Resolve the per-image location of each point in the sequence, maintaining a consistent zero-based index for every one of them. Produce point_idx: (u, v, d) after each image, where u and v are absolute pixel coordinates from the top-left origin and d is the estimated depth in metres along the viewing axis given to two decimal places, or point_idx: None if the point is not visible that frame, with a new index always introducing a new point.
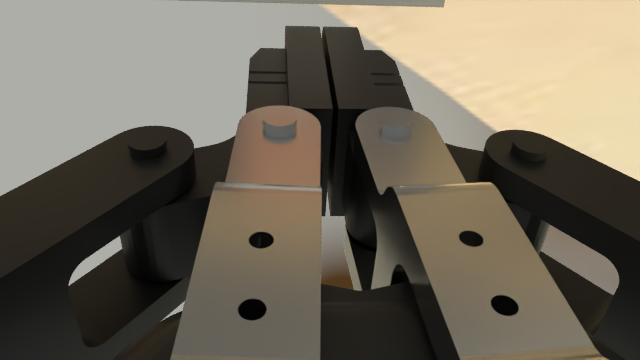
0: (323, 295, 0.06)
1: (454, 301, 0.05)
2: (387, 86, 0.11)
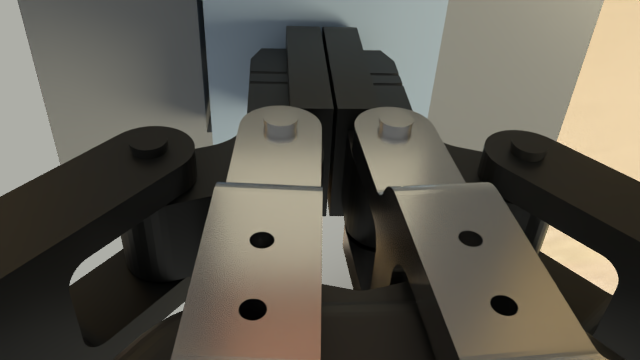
0: (323, 294, 0.06)
1: (454, 301, 0.05)
2: (386, 86, 0.11)
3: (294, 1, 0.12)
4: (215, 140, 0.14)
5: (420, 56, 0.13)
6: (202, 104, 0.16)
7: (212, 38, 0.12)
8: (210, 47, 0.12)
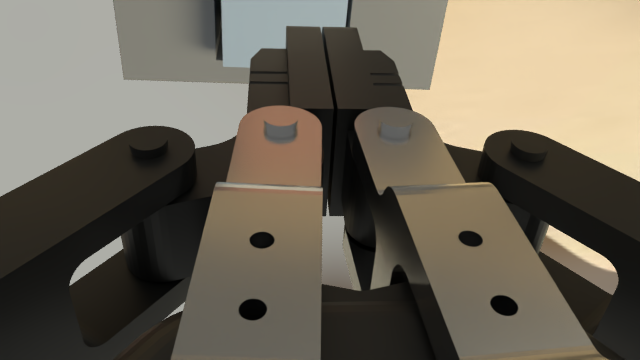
0: (322, 294, 0.06)
1: (454, 301, 0.05)
2: (386, 86, 0.11)
3: None
4: (224, 51, 0.25)
5: (337, 4, 0.24)
6: (213, 42, 0.26)
7: None
8: None
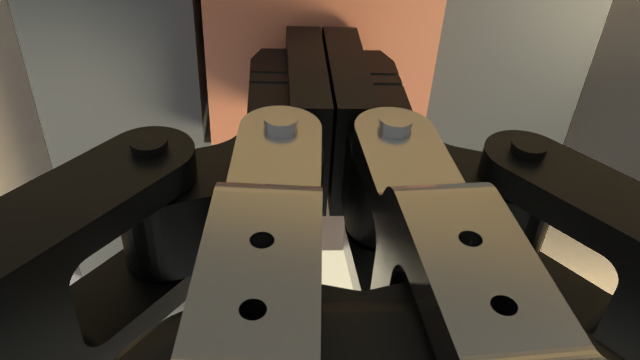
0: (323, 294, 0.06)
1: (454, 301, 0.05)
2: (386, 86, 0.11)
3: None
4: None
5: None
6: None
7: None
8: None
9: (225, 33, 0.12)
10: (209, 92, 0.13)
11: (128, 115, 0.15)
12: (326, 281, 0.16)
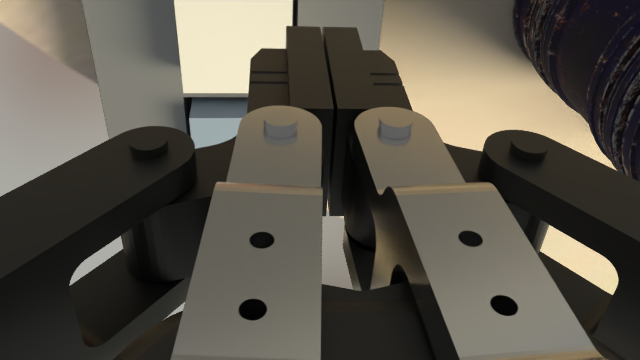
0: (323, 294, 0.06)
1: (454, 301, 0.05)
2: (386, 86, 0.11)
3: (227, 134, 0.30)
4: None
5: None
6: None
7: None
8: None
9: None
10: None
11: None
12: (242, 12, 0.26)
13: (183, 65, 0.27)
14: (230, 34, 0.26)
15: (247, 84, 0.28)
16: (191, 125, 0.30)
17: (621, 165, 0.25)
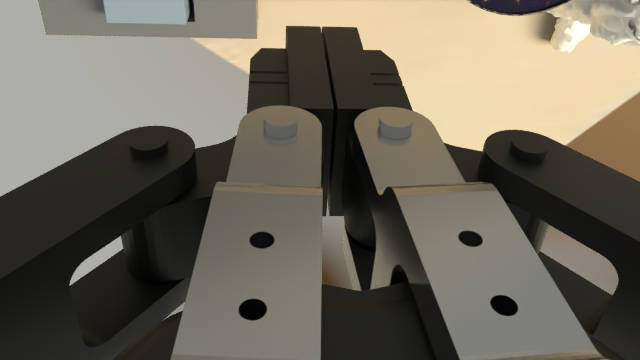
0: (323, 295, 0.06)
1: (454, 301, 0.05)
2: (386, 86, 0.11)
3: None
4: (106, 12, 0.38)
5: None
6: (103, 7, 0.39)
7: None
8: None
9: None
10: None
11: None
12: None
13: None
14: None
15: None
16: None
17: None
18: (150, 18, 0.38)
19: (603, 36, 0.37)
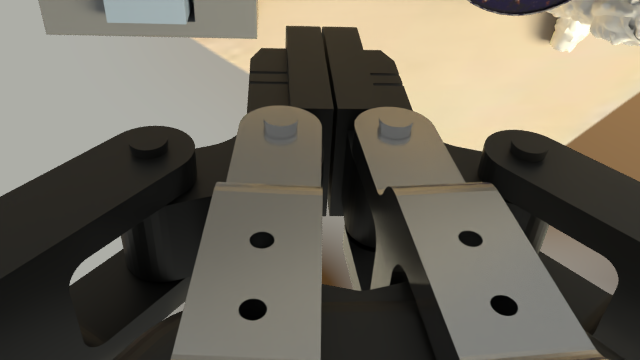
0: (323, 295, 0.06)
1: (454, 301, 0.05)
2: (386, 86, 0.11)
3: None
4: (106, 12, 0.38)
5: None
6: (103, 7, 0.39)
7: None
8: None
9: None
10: None
11: None
12: None
13: None
14: None
15: None
16: None
17: None
18: (150, 18, 0.38)
19: (603, 36, 0.37)
